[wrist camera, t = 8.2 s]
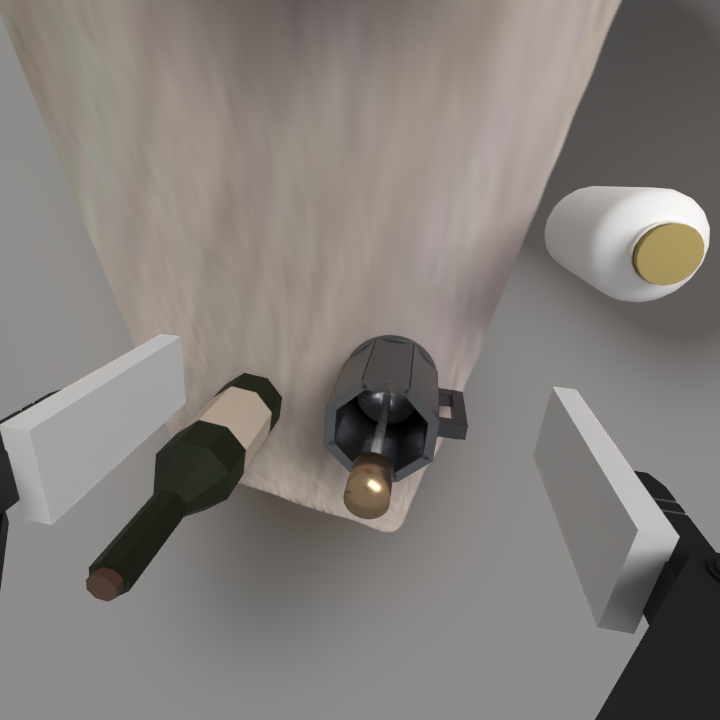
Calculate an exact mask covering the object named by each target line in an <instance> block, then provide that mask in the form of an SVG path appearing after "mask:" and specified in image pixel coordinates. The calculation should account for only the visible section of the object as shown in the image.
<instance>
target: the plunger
mask: <svg viewBox="0 0 720 720" xmlns="http://www.w3.org/2000/svg"><path fill="white" fill-rule="evenodd" d="M357 398H358V403H359V405H360V407H361V409H362V410H363V412H364V413H365V414H366V415H367V416H369V417H370V418H372V419H373V420H375V421H377V425H376V430H375V434H374V439H373V443H372V448H371V452H365V453H362V454H360V455H359V456H357V457H356V458H355V460H354V461H353V464H352V467H351V471H350V475H349V478H348V482H347V485H346V489H345V493H344V503H345V506H346V507H347V509H348V510H349V511H350V512H351V513H352V514H354V515H355V516H357V517H360V518H364V519H375V518H378V517H380V516H382V515H383V514H385V513H386V511H387V510H388V508H389V504H390V496H391V488H392V480H393V472H394V470H393V466H392V463H391V462H390V460H389V459H388V458H387V457H385V456H384V455H382V454H381V453H382V448H383V442H384V437H385V431H386V426H387V423H397V422H400V421H402V420H404V419H406V418H407V417H409V416H410V415H411V414H412V413H413V411H414V410H415V407H414V406H413V405H412V404H411V402H410V401H409V400H408V399H407V398H406V397H405V395H399V394H392V393H385V392H378V391H371V390H364V391H363V392H361V393H360V394H358V395H357Z"/></svg>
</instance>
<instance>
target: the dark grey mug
mask: <svg viewBox="0 0 720 720" xmlns="http://www.w3.org/2000/svg"><path fill="white" fill-rule="evenodd" d="M364 390H371V391H378V392H385V393H392V394H399V395H405V397H406V398H407V399H408V400H409V401H410V402H411V404H412V405H413V406H414V407H415V410H414V411H413V413H412V414H411V415H410V416H409V417H407V418H406V419H404V420H402V421H400V422H397V423H387V426H386V431H385V437H384V442H383V448H382V453H381V454H382V455H384V456H385V457H387V458H388V459H389V460H390V462H391V463H392V466H393V470H394V472H393V480H392V482H398V481H400V480H402V479H403V478H405V477H407V476H409V475H410V474H412V473H414V472H415V471H417V470H419V469H420V468H422V467H424V466H426V465H427V464H429V463H431V462H432V461H433V456H434V451H435V445H436V439H437V436H439V437H446V438H453V439H463V440H465V437H466V432H467V428H468V425H467V418H466V412H465V405H464V398H463V392H460V391H455V390H448V389H441V388H438V372H437V370H436V366H435V364H434V362H433V360H432V358H431V356H430V355H429V354H428V352H427V351H426V350H425V349H424V348H423V347H421V346H420V345H419V344H417V343H416V342H414V341H412V340H410V339H407V338H404V337H400V336H393V335H386V336H379V337H375V338H372V339H370V340H368V341H366V342H364V343H363V344H361V345H360V346H359V347H358V348H357V349H356V350H355V351H354V352H353V354H352V355H351V357H350V358H349V359H348V360H347V362H346V365H345V367H344V369H343V371H342V373H341V375H340V378H339V380H338V382H337V384H336V386H335V388H334V390H333V393H332V395H331V397H330V399H329V401H328V403H327V406H326V421H325V437H324V444H325V446H326V447H327V448H328V449H329V450H330V451H331V452H332V454H333V455H334V456H335V457H336V458H337V459H338V460H339V461H340V462H341V463H342V464H343V465H344V467H345V468H346V469H347V470H348V471H349V472H350V471H351V467H352V464H353V461H354V460H355V458H356V457H357V456H359V455H360V454H362V453H365V452H371V448H372V443H373V439H374V434H375V430H376V425H377V421H375V420H373V419H372V418H370V417H369V416H367V415H366V414H365V413H364V412H363V410H362V409H361V407H360V405H359V403H358V398H357V395H358V394H360V393H361V392H363V391H364ZM439 405H442V406H449V407H450V408H451V419H450V418H443V417H439Z"/></svg>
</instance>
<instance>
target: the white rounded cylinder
mask: <svg viewBox="0 0 720 720" xmlns="http://www.w3.org/2000/svg"><path fill="white" fill-rule="evenodd" d="M709 230H710V227H709V225H708V222H707V219H706V216H705V213H704V211H703V210H702V209H701V208H700V207H699V206H698V204H697V203H696V202H695V201H694V200H693V199H692V198H690V197H688V196H686V195H684V194H682V193H680V192H678V191H675V190H673V189H662V188H644V187H603V186H591V187H587V188H582V189H578V190H576V191H574V192H573V193H571V194H569V195H567V196H565V197H564V198H563V199H562V200H561V201H560V202H559V203H558V204H557V205H556V206H555V207H554V209H553V210H552V212H551V214H550V215H549V217H548V219H547V223H546V227H545V231H544V234H545V245H546V247H547V250H548V252H549V254H550V256H551V257H552V258H553V259H554V260H555V261H556V262H557V263H558V264H559V265H561V266H562V267H564V268H565V269H567V270H568V271H570V272H571V273H573V274H575V275H576V276H578V277H579V278H581V279H583V280H584V281H585V282H587V283H589V284H590V285H592V286H593V287H595V288H596V289H598V290H600V291H601V292H603V293H604V294H607V295H609V296H611V297H613V298H615V299H618V300H624V301H632V302H643V301H649V300H655V299H658V298H661V297H663V296H665V295H667V294H669V293H672V292H674V291H676V290H677V289H678V288H679V287H681V286H682V285H683V284H684V283H686V282H687V281H688V280H690V279H691V277H692V276H693V275H694V273H695V272H696V271H697V269H698V268H699V267H700V265H701V264H702V262H703V260H704V257H705V254H706V252H707V249H708V246H709Z"/></svg>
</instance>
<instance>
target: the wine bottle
mask: <svg viewBox="0 0 720 720" xmlns="http://www.w3.org/2000/svg"><path fill="white" fill-rule="evenodd" d="M281 402H282V397H281V396H280V394H279V393H278V392H277V390H276V389H275V388H274V386H273V385H272V384H271V382H270V381H269V380H268V379H267V378H263V377H259V376H255V375H251V374H247V373H244V374H242V375H240V376H239V377H237V378H236V379H234V380H232V381H231V382H229V383H228V384H226V385H225V386H224V387H223V388H222V389H221V390H220V391H219V392H218V393H217V394H216V395H215V396H214V397H213V398H212V399H211V400H210V401H209V402H208V403H207V404H206V405H205V406H204V407H203V408H202V409H201V410H200V411H199V412H198V413H197V414H196V415H195V416H194V417H193V418H192V419H191V420H190V421H189V422H188V423H187V424H186V425H185V426H184V427H183V428H182V429H181V430H180V431H179V432H178V433H177V434H176V435H175V436H174V437H173V438H172V439H171V440H170V441H169V442H168V443H167V444H166V445H165V446H164V447H163V448H162V449H161V450H160V451H159V452H158V453H157V454H156V463H155V479H154V494H153V496H152V497H151V498H150V499H149V500H148V501H147V502H146V504H145V505H144V506H143V507H142V508H141V509H140V510H139V512H138V513H137V514H136V515H135V516H134V517H133V518H132V519H131V521H130V522H129V523H128V524H127V525H126V526H125V527H124V528H123V530H122V531H121V532H120V533H119V534H118V535H117V536H116V538H115V539H114V540H113V541H112V542H111V543H110V544H109V545H108V547H107V548H106V549H105V550H104V551H103V552H102V553H101V554H100V556H99V557H98V558H97V559H96V560H95V561H94V562H93V563H92V565H91V566H90V567H89V577H88V579H87V580H86V583H87V584H86V585H87V590H88V591H89V592H90V593H91V594H92V595H93V596H94V597H95V598H97V599H101V600H104V601H110V600H112V599H114V598H116V597H117V596H119V595H122V594H124V593H126V592H128V591H129V590H130V589H131V588H132V586H133V585H134V584H135V582H136V581H137V580H138V578H139V577H140V575H141V574H142V573H143V571H144V570H145V568H146V567H147V566H148V565H149V563H150V562H151V560H152V559H153V558H154V556H155V555H156V554H157V552H158V551H159V550H160V548H161V547H162V546H163V544H164V543H165V542H166V540H167V539H168V537H169V536H170V535H171V533H172V532H173V531H174V529H175V528H176V527H177V525H178V524H179V523H180V521H181V520H182V518H183V517H185V516H188V515H191V514H194V513H198V512H201V511H204V510H206V509H208V508H210V507H212V506H214V505H216V504H218V503H220V502H222V501H224V500H226V499H228V497H229V496H230V494H231V492H232V491H233V489H234V488H235V486H236V485H237V483H238V482H239V480H240V478H241V477H242V475H243V474H244V472H245V471H246V469H247V468H248V466H249V464H250V463H251V461H252V460H253V458H254V457H255V455H256V453H257V452H258V450H259V449H260V447H261V446H262V444H263V443H264V441H265V439H266V438H267V436H268V435H269V433H270V432H271V430H272V428H273V427H274V425H275V424H276V422H277V421H278V419H279V416H280V409H281Z"/></svg>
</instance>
